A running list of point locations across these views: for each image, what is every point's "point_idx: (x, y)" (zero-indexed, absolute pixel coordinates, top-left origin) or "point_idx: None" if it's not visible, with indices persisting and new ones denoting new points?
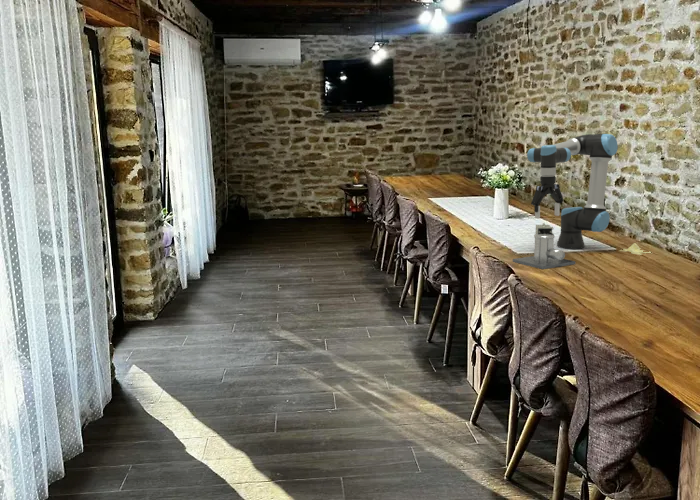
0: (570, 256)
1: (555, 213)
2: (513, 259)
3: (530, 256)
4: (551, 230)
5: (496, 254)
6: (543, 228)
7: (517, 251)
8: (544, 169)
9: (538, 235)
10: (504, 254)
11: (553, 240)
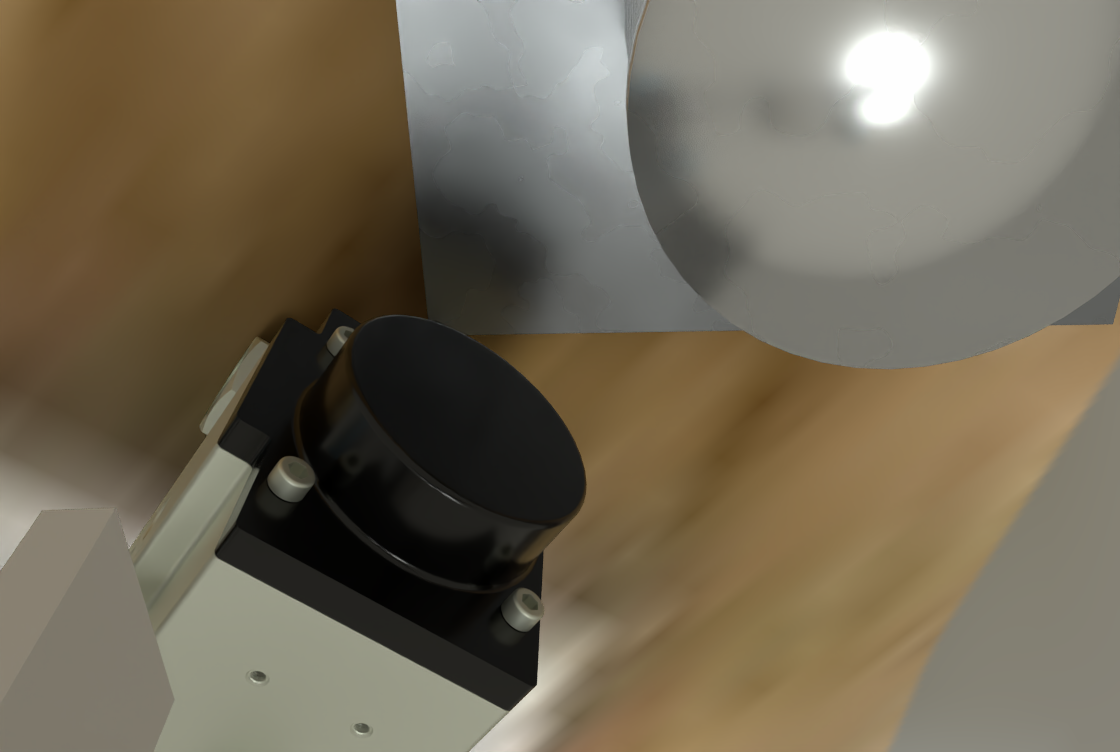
0: (4, 144)
1: (131, 726)
2: (1114, 303)
3: (729, 328)
4: (262, 501)
5: (843, 729)
6: (428, 630)
7: (485, 735)
8: None
9: (1059, 193)
10: (762, 688)
11: None
